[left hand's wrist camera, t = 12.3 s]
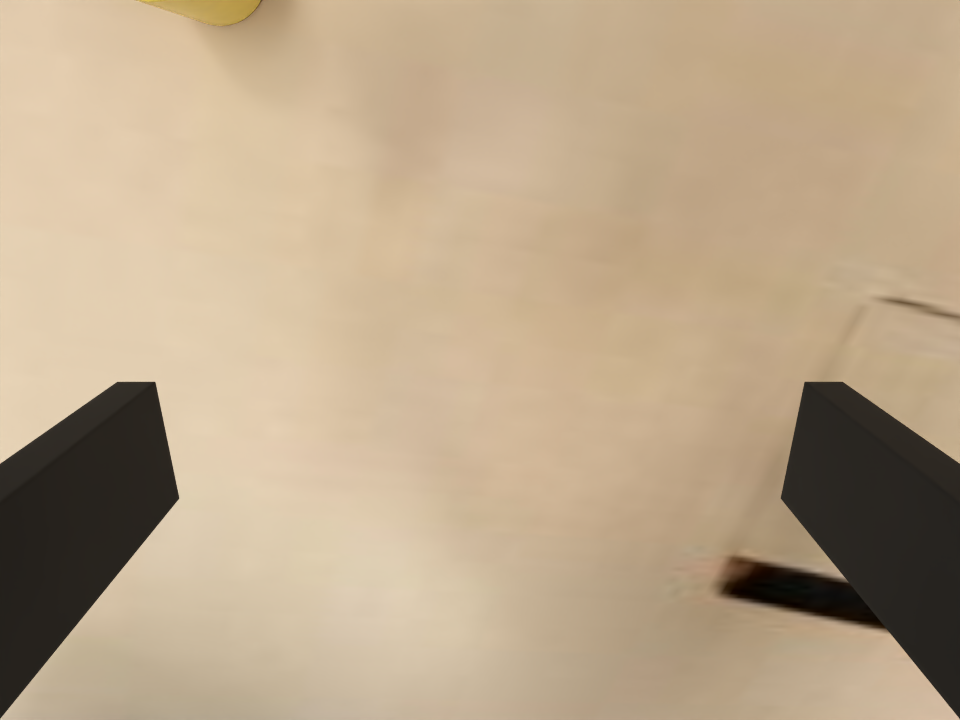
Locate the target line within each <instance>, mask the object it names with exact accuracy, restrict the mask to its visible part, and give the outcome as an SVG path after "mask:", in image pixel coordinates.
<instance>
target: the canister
mask: <svg viewBox="0 0 960 720" xmlns="http://www.w3.org/2000/svg"><path fill="white" fill-rule="evenodd" d="M136 1H140V2H143V3H146V4H149V5H152V6H155V7H158V8H161V9H164V10H167V11H170V12H173V13H176V14H179V15H182V16H185V17H188V18H191V19H194V20H197V21H200V22H203V23H206V24H210V25H217V26H225V25H231V24H235V23H237V22H240V21H242V20H243V19H245V18H247V17H248V16H249V15H250V14H251V13H252V12H253V11H254V10H255V9H256V8H257V6H258V4H259V3H260V1H261V0H136Z"/></svg>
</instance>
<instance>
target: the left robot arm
mask: <svg viewBox="0 0 960 720" xmlns="http://www.w3.org/2000/svg"><path fill="white" fill-rule="evenodd" d="M178 499H179V495H178V490H177V485H176V480H175V475H174V471H173V466H172V461H171V456H170V451H169V446H168V441H167V437H166V432H165V427H164V422H163V417H162V412H161V407H160V402H159V398H158V393H157V388H156V383H155V382H117V383H115V384H114V385H112V386H111V387H109V388H108V389H107V390H105V391H104V392H102V393H101V394H99V395H98V396H97V397H95V398H94V399H92V400H91V401H89V402H88V403H87V404H85V405H84V406H82V407H81V408H79V409H78V410H77V411H75V412H74V413H72V414H71V415H69V416H68V417H67V418H65V419H64V420H62V421H61V422H59V423H58V424H57V425H55V426H54V427H52V428H51V429H49V430H48V431H47V432H45V433H44V434H42V435H41V436H39V437H38V438H36V439H35V440H34V441H32V442H31V443H29V444H28V445H26V446H25V447H24V448H22V449H21V450H19V451H18V452H16V453H15V454H14V455H12V456H11V457H9V458H8V459H6V460H5V461H4V462H2V463H1V464H0V718H1V717H2V716H3V715H4V713H5V712H6V711H7V710H8V708H9V707H10V706H11V705H12V704H13V702H14V701H15V700H16V699H17V697H18V696H19V695H20V694H21V692H22V691H23V690H24V689H25V688H26V686H27V685H28V684H29V683H30V681H31V680H32V679H33V678H34V676H35V675H36V674H37V673H38V672H39V670H40V669H41V668H42V667H43V665H44V664H45V663H46V662H47V660H48V659H49V658H50V657H51V656H52V654H53V653H54V652H55V651H56V649H57V648H58V647H59V646H60V644H61V643H62V642H63V641H64V640H65V638H66V637H67V636H68V635H69V633H70V632H71V631H72V630H73V628H74V627H75V626H76V625H77V624H78V622H79V621H80V620H81V619H82V617H83V616H84V615H85V614H86V613H87V611H88V610H89V609H90V608H91V606H92V605H93V604H94V603H95V601H96V600H97V599H98V598H99V597H100V595H101V594H102V593H103V592H104V590H105V589H106V588H107V587H108V585H109V584H110V583H111V582H112V581H113V579H114V578H115V577H116V576H117V574H118V573H119V572H120V571H121V569H122V568H123V567H124V566H125V565H126V563H127V562H128V561H129V560H130V558H131V557H132V556H133V555H134V553H135V552H136V551H137V550H138V549H139V547H140V546H141V545H142V544H143V542H144V541H145V540H146V539H147V537H148V536H149V535H150V534H151V533H152V531H153V530H154V529H155V528H156V526H157V525H158V524H159V523H160V521H161V520H162V519H163V518H164V517H165V515H166V514H167V513H168V512H169V510H170V509H171V508H172V507H173V505H174V504H175V503H176V502H177V501H178ZM781 499H782V501H783V502H784V503H785V504H786V505H787V507H788V508H789V509H790V510H791V512H792V513H793V514H794V515H795V517H796V518H797V519H798V520H799V521H800V523H801V524H802V525H803V526H804V528H805V529H806V530H807V531H808V533H809V534H810V535H811V536H812V537H813V539H814V540H815V541H816V542H817V544H818V545H819V546H820V547H821V549H822V550H823V551H824V552H825V553H826V555H827V556H828V557H829V558H830V560H831V561H832V562H833V563H834V565H835V566H836V567H837V568H838V569H839V571H840V572H841V573H842V574H843V576H844V577H845V578H846V579H847V581H848V582H849V583H850V584H851V585H852V587H853V588H854V589H855V590H856V592H857V593H858V594H859V595H860V597H861V598H862V599H863V600H864V601H865V603H866V604H867V605H868V606H869V608H870V609H871V610H872V611H873V613H874V614H875V615H876V616H877V617H878V619H879V620H880V621H881V622H882V624H883V625H884V626H885V627H886V628H887V630H888V631H889V632H890V633H891V635H892V636H893V637H894V638H895V640H896V641H897V642H898V643H899V644H900V646H901V647H902V648H903V649H904V651H905V652H906V653H907V654H908V656H909V657H910V658H911V659H912V660H913V662H914V663H915V664H916V665H917V667H918V668H919V669H920V670H921V672H922V673H923V674H924V675H925V676H926V678H927V679H928V680H929V681H930V683H931V684H932V685H933V686H934V688H935V689H936V690H937V691H938V692H939V694H940V695H941V696H942V697H943V699H944V700H945V701H946V702H947V704H948V705H949V706H950V707H951V708H952V710H953V711H954V712H955V713H956V715H957V716H958V717H959V718H960V464H959V463H958V462H956V461H955V460H954V459H952V458H951V457H949V456H948V455H946V454H945V453H944V452H942V451H941V450H939V449H938V448H936V447H935V446H934V445H932V444H931V443H929V442H928V441H926V440H925V439H924V438H922V437H921V436H919V435H918V434H916V433H915V432H913V431H912V430H911V429H909V428H908V427H906V426H905V425H903V424H902V423H901V422H899V421H898V420H896V419H895V418H893V417H892V416H891V415H889V414H888V413H886V412H885V411H883V410H882V409H881V408H879V407H878V406H876V405H875V404H873V403H872V402H871V401H869V400H868V399H866V398H865V397H863V396H862V395H861V394H859V393H858V392H856V391H855V390H853V389H852V388H851V387H849V386H848V385H846V384H845V383H843V382H805V383H804V388H803V393H802V398H801V402H800V407H799V412H798V417H797V422H796V427H795V432H794V437H793V441H792V446H791V451H790V456H789V461H788V466H787V471H786V475H785V480H784V485H783V490H782V495H781Z"/></svg>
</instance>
